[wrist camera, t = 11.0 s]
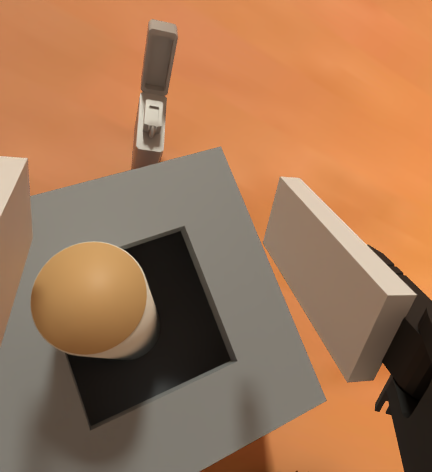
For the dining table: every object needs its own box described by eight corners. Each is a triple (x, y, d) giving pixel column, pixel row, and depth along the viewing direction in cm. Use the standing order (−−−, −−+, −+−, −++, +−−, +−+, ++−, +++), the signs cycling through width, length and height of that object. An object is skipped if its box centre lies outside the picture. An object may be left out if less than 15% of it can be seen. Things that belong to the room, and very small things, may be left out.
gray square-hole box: (52, 487, 24) (27, 567, 15) (-18, 263, 25) (-75, 223, 17) (258, 383, 28) (326, 400, 20) (186, 201, 30) (220, 146, 22)
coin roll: (108, 371, 25) (49, 376, 13) (86, 309, 26) (15, 265, 14) (169, 344, 25) (165, 326, 14) (147, 285, 26) (125, 224, 15)
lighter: (154, 178, 30) (173, 122, 23) (130, 174, 30) (141, 117, 22) (160, 94, 32) (179, 17, 24) (137, 90, 31) (150, 11, 24)
